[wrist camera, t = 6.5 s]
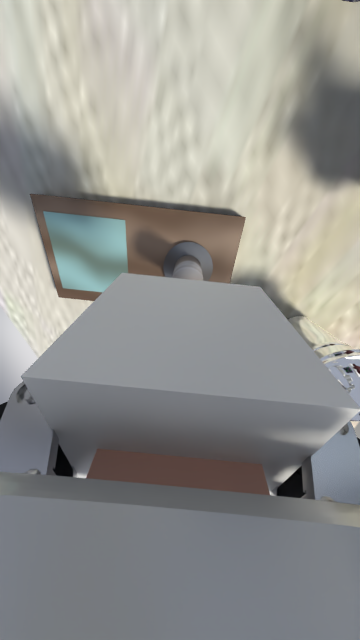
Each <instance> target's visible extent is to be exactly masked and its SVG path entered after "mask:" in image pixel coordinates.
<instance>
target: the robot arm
mask: <svg viewBox="0 0 360 640" xmlns="http://www.w3.org/2000/svg"><path fill="white" fill-rule="evenodd" d="M301 464H302V466H300V467H299V468H298V469H297V470H296V471H295V472H294V473H293V474H292V475H291V476H290V477H289V478H288V479H287V480H285V481H284V482H283V483H282V484H281V485H280V486H276V487H275V488H274V489H273V490H272V491H271V495H262V494H251V493H241V492H231V491H220V490H209V489H199V488H188V487H177V486H166V485H156V484H145V483H134V482H122V481H111V480H100V479H88V478H77V472H76V470H75V468H74V466H71V464H70V463H69V461H68V459H67V457H66V456H65V454H64V452H63V450H62V448H61V447H60V445H59V438H58V436H57V434H56V433H55V431H54V429H50V427H49V425H48V424H47V422H46V420H45V418H44V417H43V415H42V413H41V411H40V409H39V408H38V406H37V404H36V402H35V401H34V399H33V397H32V395H31V393H30V392H29V390H28V388H27V386H26V385H25V383H24V381H23V382H22V383H20V384H19V385H18V386H17V387H16V388H15V389H14V391H13V392H12V394H11V396H10V398H9V400H8V402H6V403H3V404H1V405H0V640H360V439H359V438H357V437H356V434H355V430H354V428H353V426H352V424H351V422H350V421H349V422H348V423H347V424H345V425H344V426H343V427H342V428H341V429H340V430H339V431H338V432H337V433H336V434H335V435H334V436H333V437H332V438H330V439H329V440H328V441H327V442H326V443H325V444H324V445H323V446H322V447H321V448H320V449H319V450H318V451H317V452H315V453H314V454H310V455H309V456H308V457H307V458H306V459H305V460H304V461H303V462H302V463H301Z"/></svg>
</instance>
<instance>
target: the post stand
mask: <svg viewBox="0 0 360 640" xmlns="http://www.w3.org/2000/svg"><path fill="white" fill-rule="evenodd" d="M30 196H31V199H32V203H33V207H34V210H35V214H36V217H37V221H38V224H39V228H40V232H41V235H42V239H43V242H44V246H45V250H46V253H47V257H48V260H49V264H50V267H51V271H52V275H53V278H54V282H55V285H56V289H57V293H58V296H59V297H62V298H71V299H81V300H90V301H95V300H96V299H97V298H98V297H99V296H100V295H101V294H102V293H103V292H104V291H105V290H106V289H107V288H108V287H109V286H110V285H111V284H112V283H113V281H114V280H115V279H116V278H117V277H118V276H119V275H120V274H121V273H129V274H139V275H149V276H159V277H169V278H179V279H189V280H199V281H209V282H219V283H229V284H230V279H231V275H232V271H233V267H234V263H235V259H236V255H237V251H238V247H239V243H240V239H241V235H242V231H243V227H244V222H245V218H246V217H241V216H232V215H223V214H213V213H204V212H195V211H186V210H177V209H167V208H158V207H149V206H140V205H131V204H121V203H112V202H103V201H94V200H85V199H76V198H66V197H57V196H48V195H38V194H30Z"/></svg>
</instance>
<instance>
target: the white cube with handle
mask: <svg viewBox="0 0 360 640" xmlns="http://www.w3.org/2000/svg"><path fill="white" fill-rule="evenodd" d="M21 377H22V379H23V381H24V383H25V385H26V386H27V388H28V390H29V392H30V393H31V395H32V397H33V399H34V401H35V402H36V404H37V406H38V408H39V409H40V411H41V413H42V415H43V417H44V418H45V420H46V422H47V424H48V425H49V427H50V429H54V431H55V433H56V434H57V436H58V438H59V445H60V447H61V448H62V450H63V452H64V454H65V456H66V457H67V459H68V461H69V463H70V464H71V466H74V468H75V470H76V472H77V477H78V478H88V479H100V480H111V481H122V482H134V483H145V484H156V485H166V486H177V487H188V488H199V489H209V490H220V491H231V492H241V493H251V494H262V495H270V494H271V491H272V490H273V489H274V488H275V487H276V486H280V485H281V484H282V483H283V482H284V481H285V480H287V479H288V478H289V477H290V476H291V475H292V474H293V473H294V472H295V471H296V470H297V469H298V468H299V467H300V466H302V464H301V463H302V462H303V461H304V460H305V459H306V458H307V457H308V456H309V455H310V454H314V453H315V452H317V451H318V450H319V449H320V448H321V447H322V446H323V445H324V444H325V443H326V442H327V441H328V440H329V439H330V438H332V437H333V436H334V435H335V434H336V433H337V432H338V431H339V430H340V429H341V428H342V427H343V426H344V425H345V424H347V423H348V422H349V421H350V420H351V419H352V418H353V417H354V416H355V415H356V414H357V413H358V412H359V411H360V407H359V406H358V405H357V403H356V402H355V401H354V400H353V399H352V397H351V396H350V395H349V394H348V393H347V391H346V390H345V389H344V388H343V386H342V385H341V384H340V383H339V382H338V380H337V379H336V378H335V377H334V376H333V374H332V373H331V372H330V371H329V370H328V368H327V367H326V366H325V365H324V363H323V362H322V361H321V360H320V359H319V357H318V356H317V355H316V354H315V353H314V351H313V350H312V349H311V348H310V346H309V345H308V344H307V343H306V342H305V340H304V339H303V338H302V337H301V336H300V334H299V333H298V332H297V331H296V330H295V328H294V327H293V326H292V325H291V323H290V322H289V321H288V320H287V319H286V317H285V316H284V315H283V314H282V313H281V311H280V310H279V309H278V308H277V306H276V305H275V304H274V303H273V302H272V300H271V299H270V298H269V297H268V296H267V294H266V293H265V292H264V291H263V290H262V288H261V287H259V286H249V285H239V284H229V283H219V282H209V281H199V280H189V279H179V278H169V277H159V276H149V275H139V274H129V273H121V274H120V275H119V276H118V277H117V278H116V279H115V280H114V281H113V283H112V284H111V285H110V286H109V287H108V288H107V289H106V290H105V291H104V292H103V293H102V294H101V295H100V296H99V297H98V298H97V299H96V300H95V301H94V302H93V303H92V304H91V305H90V306H89V307H88V308H87V309H86V310H85V311H84V312H83V313H82V314H81V315H80V316H79V317H78V318H77V319H76V320H75V321H74V323H73V324H72V325H71V326H70V327H69V328H68V329H67V330H66V331H65V332H64V333H63V334H62V335H61V336H60V337H59V338H58V339H57V340H56V341H55V342H54V343H53V344H52V345H51V346H50V347H49V348H48V349H47V350H46V351H45V352H44V353H43V354H42V355H41V356H40V357H39V358H38V359H37V361H36V362H35V363H34V364H33V365H32V366H31V367H30V368H29V369H28V370H27V371H26V372H25V373H24V374H23V375H22V376H21Z"/></svg>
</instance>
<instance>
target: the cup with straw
mask: <svg viewBox="0 0 360 640" xmlns="http://www.w3.org/2000/svg"><path fill="white" fill-rule="evenodd" d="M288 321H289V322H290V323H291V325H292V326H293V327H294V328H295V330H296V331H297V332H298V333H299V334H300V336H301V337H302V338H303V339H304V340H305V342H306V343H307V344H308V345H309V346H310V348H311V349H312V350H313V351H314V353H315V354H316V355H317V356H318V357H319V359H320V360H321V361H322V362H323V363H324V365H325V366H326V367H327V368H328V370H329V371H330V372H331V373H332V374H333V376H334V377H335V378H336V379H337V380H338V382H339V383H340V384H341V385H342V386H343V388H344V389H345V390H346V391H347V393H348V394H349V395H350V396H351V397H352V399H353V400H354V401H355V402H356V403H357V405H358V406H359V407H360V349H356V348H353V347H351V346H350V345H348V344H346V343H343V342H341V341H340V340H339V339H337V338H336V337H334V336H333V335H331V334H330V333H328V332H327V331H326V330H324V329H323V328H321V327H320V326H318V325H317V324H315V323H314V322H313V321H310V320H309V319H308V318H307V317H304V316H295V317H292V318H289V319H288ZM350 421H360V411H359V412H358V413H357V414H356V415H355V416H354V417H353V418H352V419H351V420H350Z"/></svg>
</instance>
